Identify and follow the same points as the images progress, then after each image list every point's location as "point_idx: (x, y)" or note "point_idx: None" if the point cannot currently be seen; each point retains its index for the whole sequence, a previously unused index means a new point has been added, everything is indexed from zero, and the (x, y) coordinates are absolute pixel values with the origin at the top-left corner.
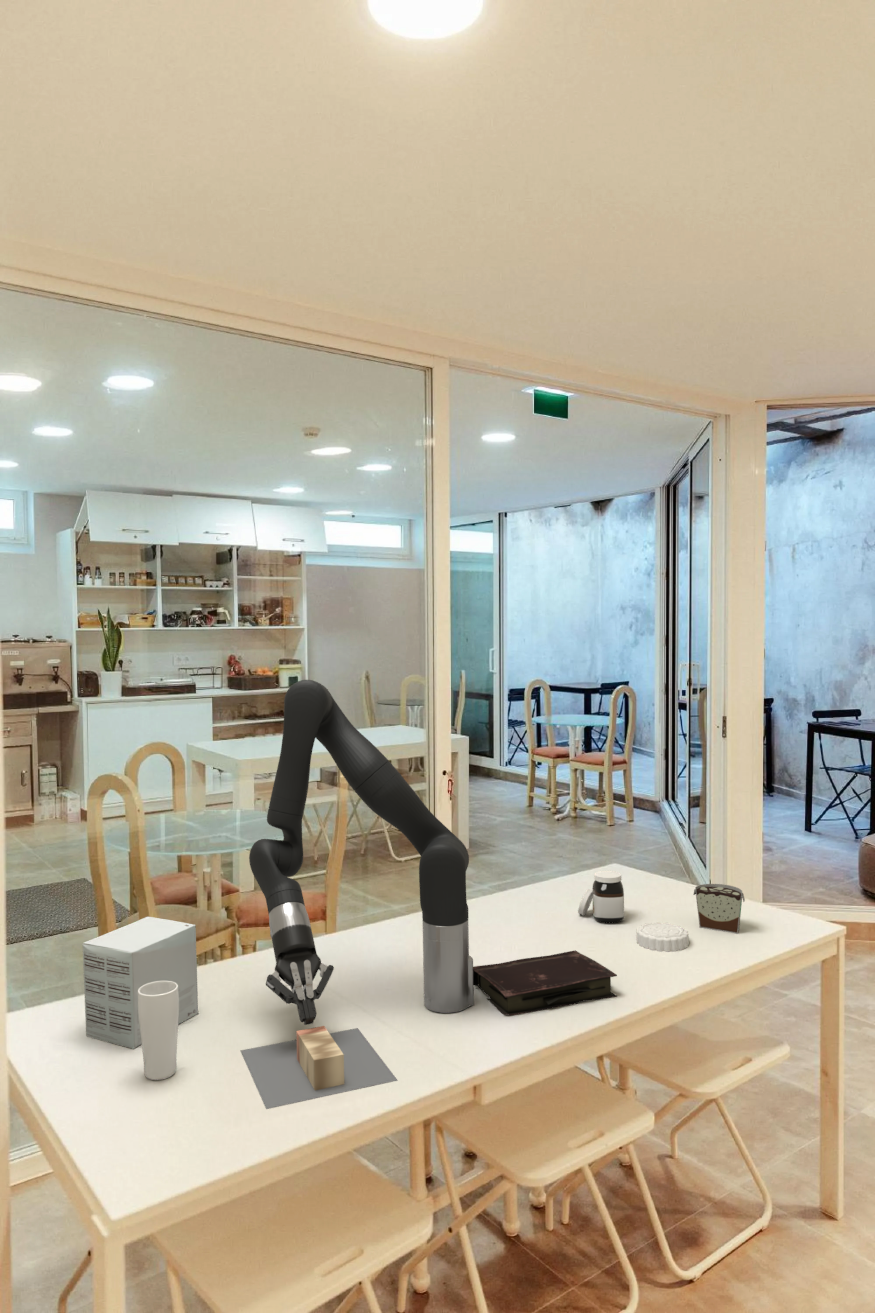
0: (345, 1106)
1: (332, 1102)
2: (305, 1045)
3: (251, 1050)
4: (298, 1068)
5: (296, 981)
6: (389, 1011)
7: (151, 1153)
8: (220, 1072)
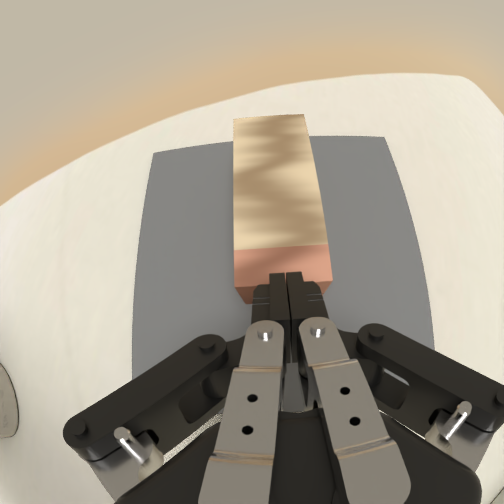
0: None
1: None
2: (316, 179)
3: None
4: None
5: (350, 380)
6: (64, 445)
7: (485, 128)
8: (468, 305)
